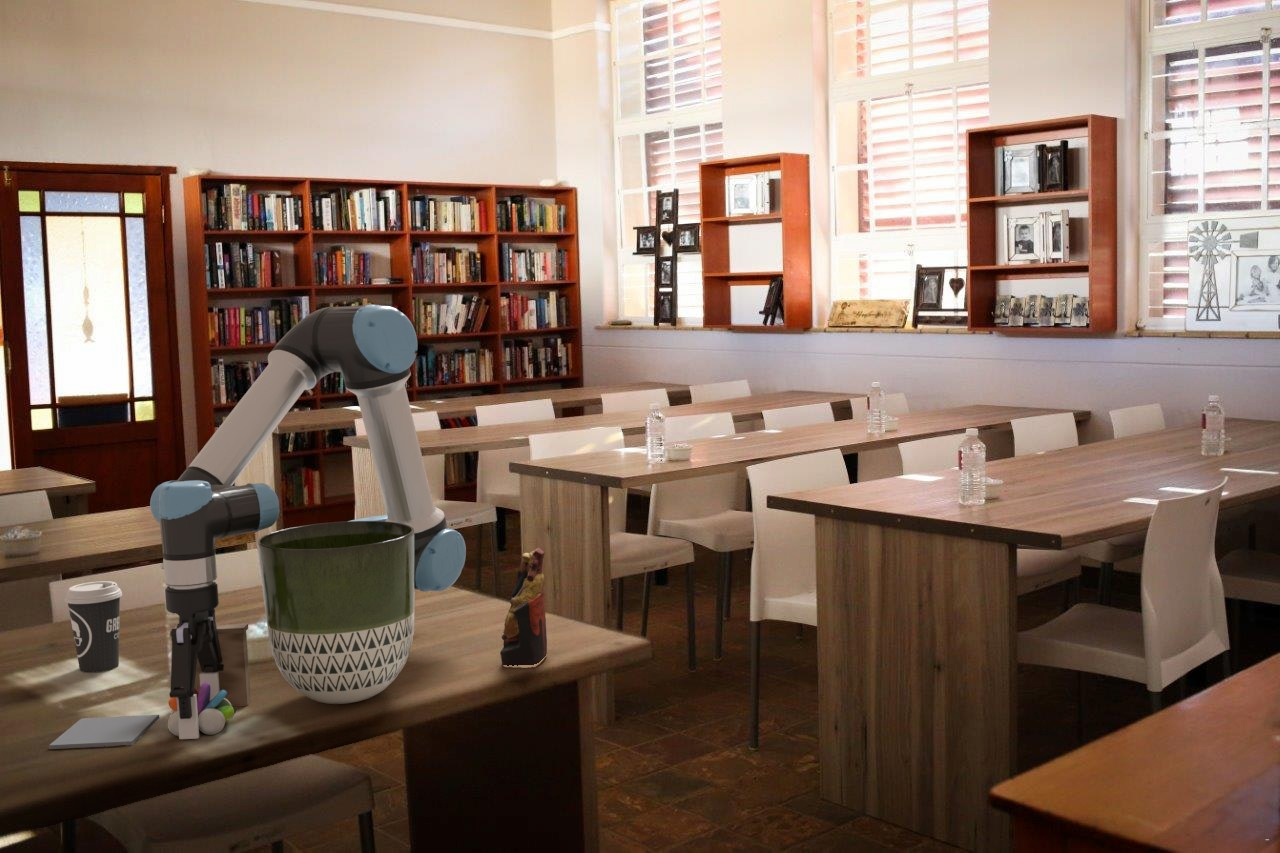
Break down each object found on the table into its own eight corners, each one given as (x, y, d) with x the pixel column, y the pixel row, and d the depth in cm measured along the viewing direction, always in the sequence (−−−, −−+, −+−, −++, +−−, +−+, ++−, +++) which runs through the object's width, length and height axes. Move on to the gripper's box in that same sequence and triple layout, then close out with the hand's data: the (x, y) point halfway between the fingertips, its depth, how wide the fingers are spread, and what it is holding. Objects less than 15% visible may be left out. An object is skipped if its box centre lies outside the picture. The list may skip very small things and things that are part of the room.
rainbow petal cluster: (177, 722, 195) (173, 676, 195) (240, 718, 196) (237, 672, 195) (161, 741, 187) (157, 693, 186) (227, 736, 188) (224, 689, 187)
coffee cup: (106, 676, 221) (100, 592, 220) (58, 674, 223) (51, 591, 222) (138, 660, 231) (132, 580, 229) (92, 659, 233) (85, 579, 231)
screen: (253, 700, 204) (248, 623, 203) (249, 705, 202) (243, 627, 200) (181, 704, 204) (175, 627, 202) (175, 709, 201) (170, 631, 200)
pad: (159, 718, 197) (159, 714, 197) (132, 745, 185) (131, 741, 185) (81, 722, 196) (81, 718, 196) (49, 749, 185) (49, 745, 184)
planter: (294, 677, 217) (285, 522, 214) (435, 673, 216) (427, 518, 213) (246, 725, 192) (234, 551, 190) (404, 721, 191) (395, 547, 189)
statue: (512, 652, 228) (508, 543, 226) (554, 653, 226) (550, 544, 224) (490, 671, 216) (486, 556, 214) (535, 672, 214) (530, 557, 213)
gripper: (189, 568, 201) (198, 702, 204) (139, 602, 178) (150, 753, 181) (237, 566, 202) (245, 700, 204) (192, 600, 179) (202, 750, 181)
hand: (200, 725), depth 192 cm, fingers open, 10 cm apart
